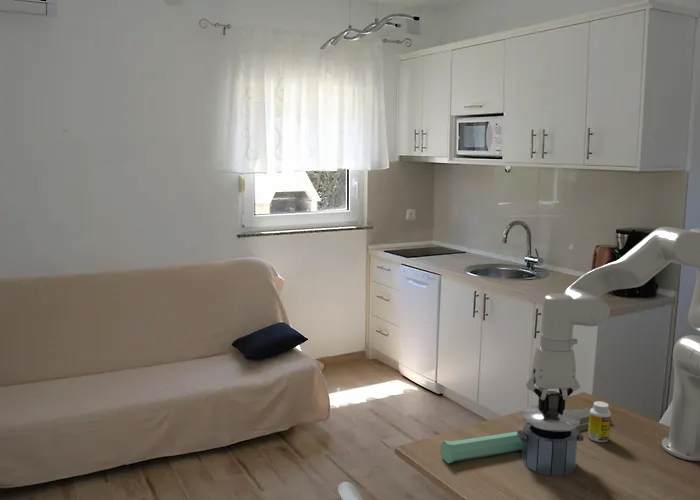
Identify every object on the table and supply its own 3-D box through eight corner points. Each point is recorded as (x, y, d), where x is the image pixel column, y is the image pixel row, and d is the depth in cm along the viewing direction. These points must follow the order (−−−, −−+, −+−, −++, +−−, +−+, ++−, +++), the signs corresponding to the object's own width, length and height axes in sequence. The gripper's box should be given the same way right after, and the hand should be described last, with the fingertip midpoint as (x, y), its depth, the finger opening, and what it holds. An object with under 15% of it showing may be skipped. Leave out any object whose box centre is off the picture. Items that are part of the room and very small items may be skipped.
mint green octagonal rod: (525, 423, 177) (443, 435, 168) (536, 440, 172) (453, 453, 164) (519, 439, 180) (438, 451, 172) (530, 455, 175) (447, 469, 167)
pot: (568, 450, 174) (570, 418, 173) (588, 475, 162) (591, 441, 160) (510, 451, 174) (512, 419, 172) (526, 476, 161) (528, 442, 159)
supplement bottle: (600, 445, 178) (603, 409, 176) (583, 437, 182) (586, 402, 181) (613, 439, 181) (616, 405, 179) (596, 432, 185) (598, 398, 184)
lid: (566, 407, 173) (568, 382, 172) (589, 431, 159) (591, 404, 158) (515, 408, 172) (516, 383, 171) (532, 432, 158) (534, 405, 157)
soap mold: (612, 426, 191) (613, 414, 190) (559, 437, 183) (559, 426, 182) (587, 412, 200) (588, 401, 200) (535, 423, 192) (535, 412, 192)
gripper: (582, 338, 166) (577, 406, 169) (518, 339, 165) (514, 407, 168) (594, 348, 159) (589, 418, 162) (528, 348, 158) (523, 419, 161)
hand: (551, 412), depth 165 cm, fingers closed on lid, 3 cm apart
